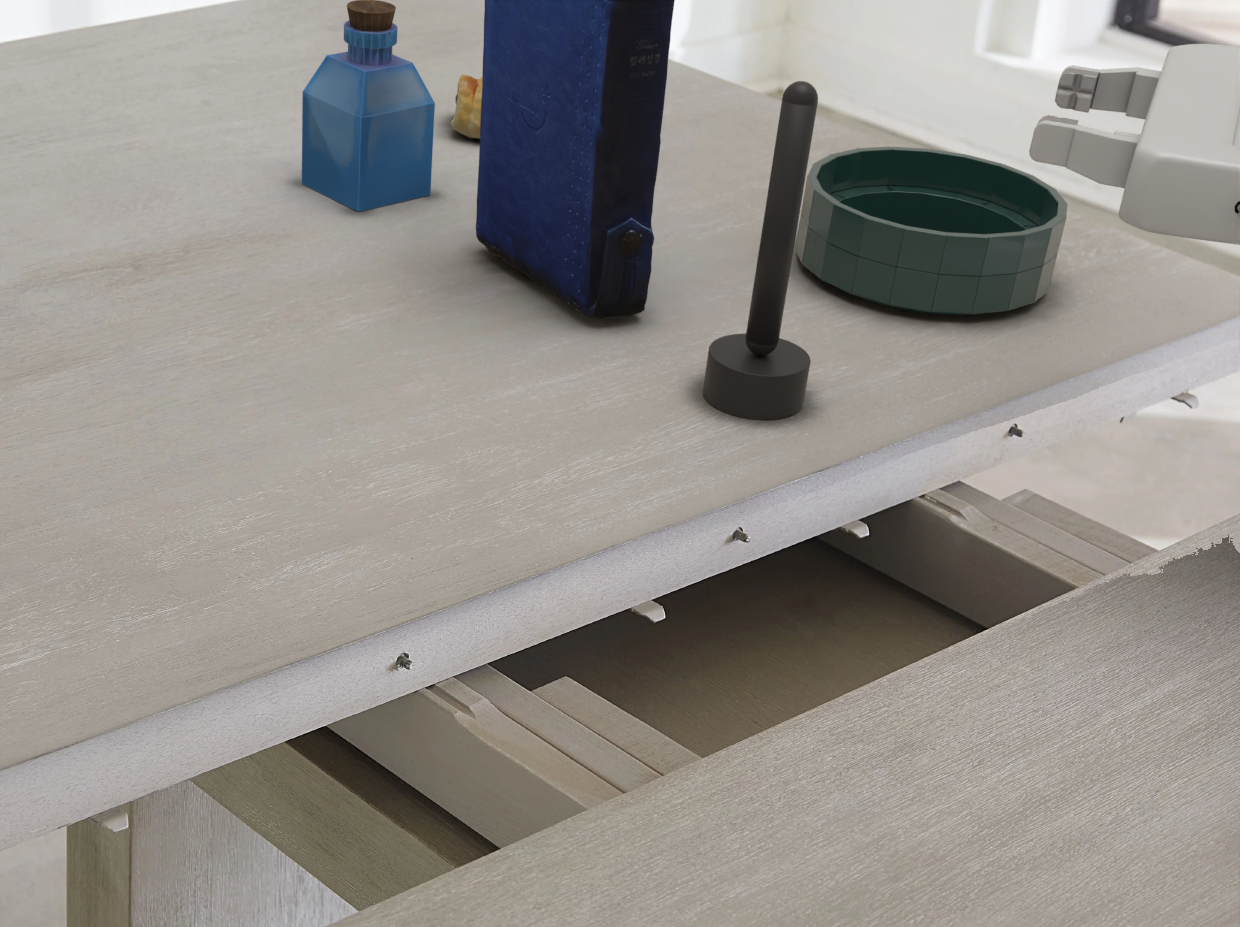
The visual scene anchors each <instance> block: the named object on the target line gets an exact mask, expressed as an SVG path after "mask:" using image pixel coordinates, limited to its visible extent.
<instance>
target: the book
mask: <svg viewBox="0 0 1240 927" xmlns="http://www.w3.org/2000/svg"><path fill="white" fill-rule="evenodd" d="M675 1H676V0H484V15H483V18H484V19H483V50H482V77H483V78H482V100H481V120H480V139H479V150H478V151H479V152H478V173H477V187H476V188H477V191H476V192H477V193H476V219H475V236H476V239H477V241H478V242H479V243H481V244H482V245H483V246H484V247H485V248H486V249H487V251H488V252H489V253H491V254H493V255H494V256H495V257H499V258H500V259H501V260H502V261H503V262H504V263H505V264H506V265H507V266H508V267H511V268H513V269H515V270H516V271H518V273H519V272H520V273H521V274H523V275H524V276H527V277H528V279H530V281H531V282H533V283H534V284H537V285H539V286H541V287H543V288H545V289H547V290H548V291H550V292H551V293H552V294H553V295H555V297H558V298H560V299H562V300H563V301H565V302H566V303H568V305H570V306H571V307H572V309H574V310H576V311H577V312H579V313H581V314H583V315H585V316H588V317H591V318H596V319H612V318H613V319H614V318H623V317H625V318H626V317H632V316H635V315H637V314H641V313H642V312H644V311H645V310H646V303H647V300H648V292H649V285H650V279H651V274H652V260H653V245H654V243H655V236H654V231H653V228H652V217H653V210H654V196H655V188H656V182H657V176H658V168H659V159H660V150H661V143H662V141H661V140H662V139H661V136H662V126H663V117H664V109H665V100H666V89H667V82H668V81H667V79H668V66H669V54H670V47H671V33H672V23H673V16H674V9H675Z"/></svg>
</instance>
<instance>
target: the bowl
mask: <svg viewBox="0 0 1240 927" xmlns="http://www.w3.org/2000/svg"><path fill="white" fill-rule="evenodd" d="M1068 206H1069V204H1068V202H1067V201H1066V200H1065V198H1064V197H1063V195H1062V194H1061V193H1060V192H1059V191H1058V189H1056V188H1055V187H1053V186H1051V185H1050V184H1048V183H1046V182H1045V181H1043V180H1042V179H1040V178H1038V177H1036V176H1035V175H1033V174H1031V173H1029V172H1025V171H1022V170H1021V169H1017V168H1015V167H1013V166H1010V165H1007V164H1005V163H1001V162H997V161H993V160H991V159H990V160H989V159H985V158H983V157H982V158H981V157H978V156H974V155H971V154H966V153H960V152H959V153H958V152H953V151H946V150H939V149H935V148H934V149H933V148H927V147H926V148H925V147H924V148H923V147H909V146H908V147H906V146H874V147H857V148H853V149H849V150H844V151H840V152H834V153H830V154H828V155H826V156H824V157H823V158H821V159H819V160H817V161H815V162H814V163H813V164H812V165H811V166H810V169H809V172H808V173H807V175H806V179H805V185H804V191H803V197H802V204H801V210H800V216H799V222H798V228H797V234H796V240H795V246H794V250H795V253H796V254H797V257H798V258H799V261H800V263H801V265H802V266H803V267H805V268H806V269H807V270H808V271H810V272H811V273H812V274H813V275H814V276H816V277H817V278H818V279H819V280H821V281H822V282H824V283H827V284H829V285H831V286H833V287H835V288H837V289H839V290H841V291H843V292H845V293H847V294H848V295H851V296H853V297H856V298H858V299H862V300H864V301H867V302H870V303H872V304H873V303H874V304H877V305H881V306H883V307H887V308H892V309H896V310H899V311H901V310H902V311H906V312H912V313H917V314H918V313H919V314H927V315H936V316H938V315H939V316H977V315H986V314H991V313H999V312H1000V313H1001V312H1009V311H1012V310H1016V309H1018V308H1021V307H1025V306H1028V305H1032V304H1034V303H1036V302H1037V301H1038V300H1039V299H1041V298H1042V297H1043V296H1044V295H1045V294H1047V293H1048V292H1049V290H1050V286H1051V282H1052V278H1053V274H1054V270H1055V266H1056V261H1057V257H1058V253H1059V249H1060V245H1061V242H1062V238H1063V234H1064V229H1065V225H1066V221H1067V215H1068Z"/></svg>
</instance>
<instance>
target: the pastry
mask: <svg viewBox="0 0 1240 927" xmlns="http://www.w3.org/2000/svg"><path fill="white" fill-rule="evenodd" d="M482 78H483V76H481V77H480V78H476V77H475V78H474V77H473V76H471V75H468V74H461V75H460V76H459V79H458V81H457V90H456V95H455V98H454V99H455V100H454V102H455V110H454V117H453V118H452V120H451V121H450V126H451V128H452V129H453V130H455V131H456V132H458V133H459V134H460V135H463V136H465V137H466V138H468V139H479V140H480V120H481V100H482Z"/></svg>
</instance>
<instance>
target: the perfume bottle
mask: <svg viewBox="0 0 1240 927" xmlns="http://www.w3.org/2000/svg"><path fill="white" fill-rule="evenodd" d="M346 9H347V14H348V15H347V16H348V20H347V21H345V22H344V23H343V41H344V43H346V44H347V51H344V52H337V53H332V54H327V55H326V56H325V57H324V58H323V60H322V61H321V63H320V65H319V66H318V68H317V69H316V70H315V72H314V74H313V75H312V76H311V78H310V80H309V81H308V82H307V84H306V86H305V87H304V89H303V90H302V98H301V99H302V100H301V101H302V105H301V106H302V111H301V112H302V113H301V117H302V118H301V185H304V186H305V187H308V188H310V189H311V190H314V191H316V192H318V193H320V194H322V195H324V196H326V197H327V198H330V199H332V200H334V201H336V202H337V203H339V204H342V205H343V206H345V207H348V208H350V209H352V210H354V211H355V212H358V213H360V212H363V211H368V210H373V209H376V208H381V207H384V206H385V207H386V206H389V205H393V204H397V203H402V202H406V201H410V200H415V199H419V198H423V197H427V196H431V191H432V173H433V172H432V171H433V170H432V169H433V151H434V150H433V149H434V131H435V130H434V128H435V110H436V103H435V101H434V99H433V97H432V95H431V93H430V91H429V90H428V88H427V86H426V84H425V82H424V80H423V78H422V77H421V75H420V73H419V71H418V70H417V67H416V66H415V64H414V62H412V61H410V60H407V59H405V58H403V57H400V56H398V55H395V54H393V47H394V46H395V45H397V43H398V25H397V24H395V22H394V23H393V21H394V17H395V13H396V9H397V7H396V6H395V4H393V3H391V2H387V1H383V0H352V1H349V2H347V3H346Z"/></svg>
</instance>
